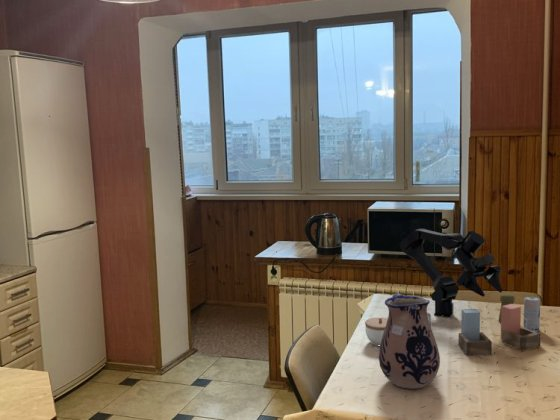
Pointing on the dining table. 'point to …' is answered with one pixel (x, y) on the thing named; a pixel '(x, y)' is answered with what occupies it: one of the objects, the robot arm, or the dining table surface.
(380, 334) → the lidded jar
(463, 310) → the blue-grey rectangular block
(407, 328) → the ceramic pitcher
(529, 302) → the energy drink
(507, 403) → the dining table surface
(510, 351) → the dining table surface
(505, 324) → the salmon pink block
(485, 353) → the grey brown open box
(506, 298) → the olive green cylinder
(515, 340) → the grey-brown wooden tray
